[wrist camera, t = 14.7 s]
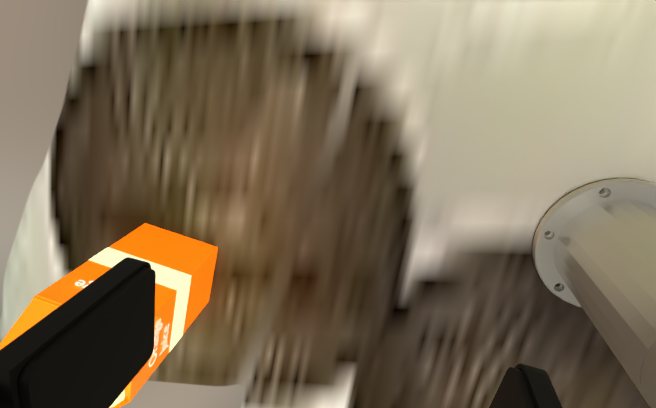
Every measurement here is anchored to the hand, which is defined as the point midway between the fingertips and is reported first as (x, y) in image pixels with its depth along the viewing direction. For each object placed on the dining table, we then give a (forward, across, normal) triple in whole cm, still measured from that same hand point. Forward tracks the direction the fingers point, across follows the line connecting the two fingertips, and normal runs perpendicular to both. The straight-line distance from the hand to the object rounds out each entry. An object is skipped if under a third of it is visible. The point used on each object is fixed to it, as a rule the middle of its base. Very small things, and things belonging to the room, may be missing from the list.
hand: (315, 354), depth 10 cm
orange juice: (+28, +19, +19) cm, 39 cm away
